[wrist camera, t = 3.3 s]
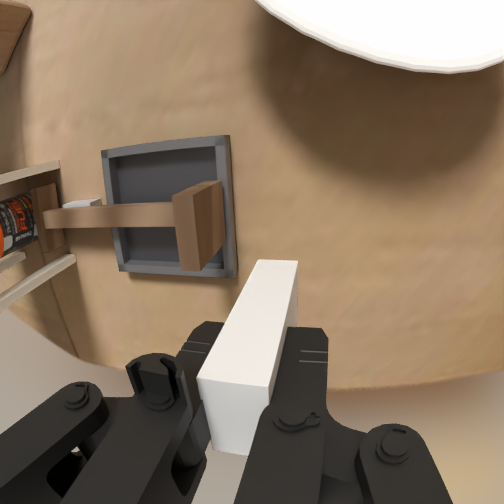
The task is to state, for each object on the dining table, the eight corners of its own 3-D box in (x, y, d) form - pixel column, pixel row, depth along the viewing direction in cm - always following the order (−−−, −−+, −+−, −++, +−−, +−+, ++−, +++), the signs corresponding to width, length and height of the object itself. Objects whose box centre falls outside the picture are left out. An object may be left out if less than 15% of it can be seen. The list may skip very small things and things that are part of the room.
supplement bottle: (57, 216, 32) (-18, 251, 21) (40, 246, 34) (-26, 283, 24) (32, 180, 31) (-42, 205, 20) (17, 212, 33) (-49, 241, 23)
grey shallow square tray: (126, 265, 32) (119, 271, 30) (110, 149, 27) (101, 150, 26) (238, 271, 29) (234, 278, 28) (229, 135, 25) (224, 135, 24)
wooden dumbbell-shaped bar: (59, 243, 32) (13, 268, 25) (48, 184, 30) (-2, 200, 23) (231, 246, 28) (202, 285, 21) (226, 165, 25) (191, 178, 19)
